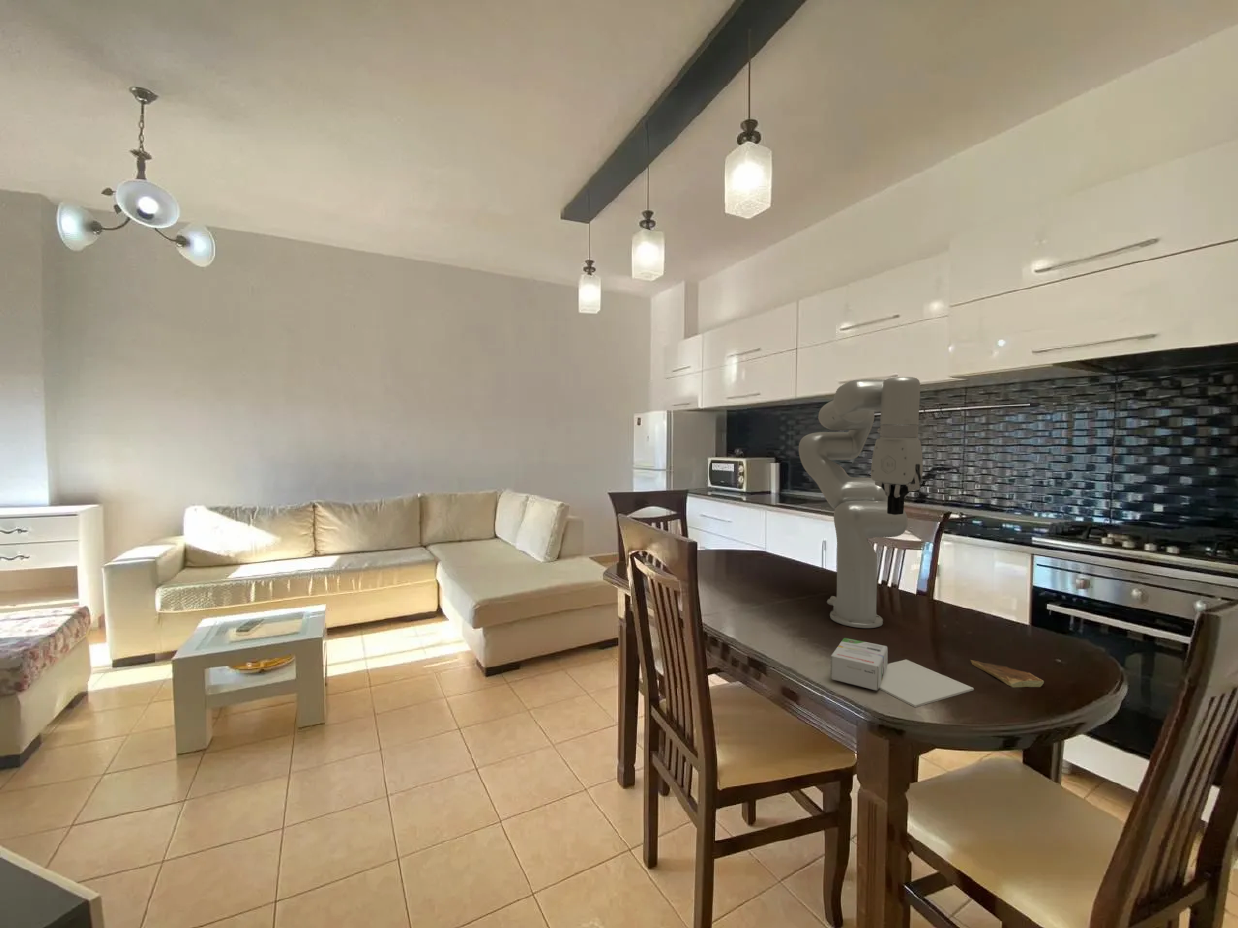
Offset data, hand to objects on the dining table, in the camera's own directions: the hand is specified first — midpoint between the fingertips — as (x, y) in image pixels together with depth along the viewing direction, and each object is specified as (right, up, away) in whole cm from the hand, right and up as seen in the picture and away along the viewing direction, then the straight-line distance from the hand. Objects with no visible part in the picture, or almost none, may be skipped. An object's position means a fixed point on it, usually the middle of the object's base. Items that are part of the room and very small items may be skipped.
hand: (895, 513), depth 116 cm
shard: (+14, -32, -14) cm, 38 cm away
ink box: (-11, -28, -9) cm, 32 cm away
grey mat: (-6, -31, -16) cm, 36 cm away
